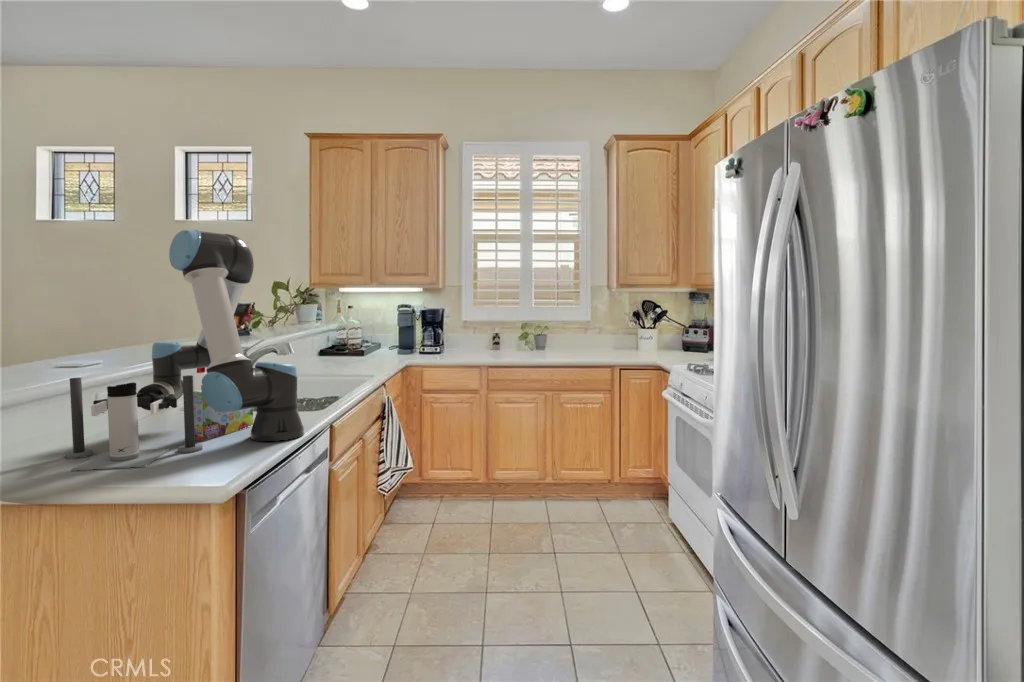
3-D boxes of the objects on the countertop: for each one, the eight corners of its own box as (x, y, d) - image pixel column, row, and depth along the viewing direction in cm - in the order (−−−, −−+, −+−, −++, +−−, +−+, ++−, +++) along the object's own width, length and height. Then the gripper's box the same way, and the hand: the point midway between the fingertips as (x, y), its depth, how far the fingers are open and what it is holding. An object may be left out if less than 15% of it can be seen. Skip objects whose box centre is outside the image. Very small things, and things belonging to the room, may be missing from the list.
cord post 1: (99, 453, 147) (95, 377, 146) (77, 459, 141) (73, 380, 140) (81, 451, 148) (77, 376, 147) (58, 457, 142) (54, 379, 141)
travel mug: (125, 462, 137) (121, 384, 136) (103, 460, 139) (100, 383, 137) (146, 455, 144) (143, 381, 142) (125, 453, 145) (122, 380, 143)
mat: (169, 450, 151) (169, 448, 151) (144, 467, 135) (144, 465, 135) (104, 453, 147) (103, 451, 147) (70, 471, 131) (70, 469, 131)
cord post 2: (207, 448, 153) (205, 374, 152) (191, 453, 147) (188, 377, 146) (189, 446, 155) (187, 374, 153) (172, 452, 149) (169, 376, 147)
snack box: (205, 442, 160) (203, 391, 159) (189, 440, 161) (187, 391, 160) (254, 426, 181) (253, 381, 180) (240, 425, 182) (239, 381, 181)
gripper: (201, 406, 165) (176, 421, 145) (108, 409, 159) (68, 425, 139) (200, 382, 165) (175, 394, 144) (107, 384, 159) (66, 397, 138)
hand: (122, 409), depth 142 cm, fingers open, 13 cm apart
